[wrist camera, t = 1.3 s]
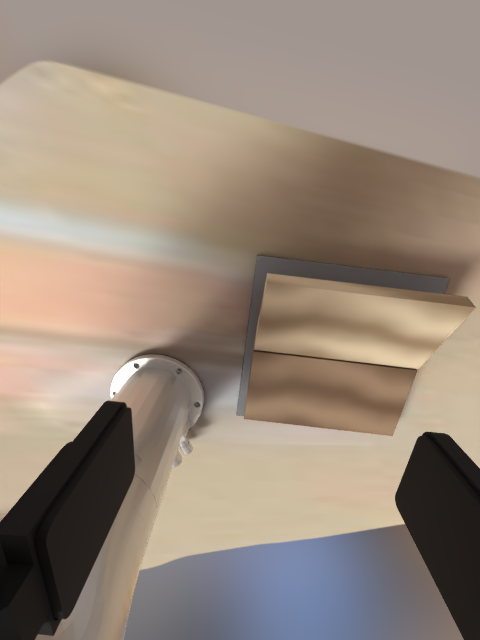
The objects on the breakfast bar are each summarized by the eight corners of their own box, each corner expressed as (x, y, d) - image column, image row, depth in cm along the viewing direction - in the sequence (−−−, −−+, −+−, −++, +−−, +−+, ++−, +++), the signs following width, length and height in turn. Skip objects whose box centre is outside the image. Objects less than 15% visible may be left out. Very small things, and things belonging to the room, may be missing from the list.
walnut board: (386, 427, 38) (392, 435, 36) (244, 411, 38) (244, 418, 36) (409, 364, 35) (417, 370, 33) (253, 345, 34) (253, 351, 33)
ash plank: (413, 358, 34) (418, 368, 33) (254, 339, 34) (254, 349, 33) (467, 296, 27) (475, 307, 26) (267, 273, 27) (267, 282, 26)
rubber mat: (390, 431, 39) (392, 433, 38) (236, 413, 38) (236, 415, 38) (447, 277, 31) (450, 278, 31) (257, 255, 31) (257, 255, 31)
